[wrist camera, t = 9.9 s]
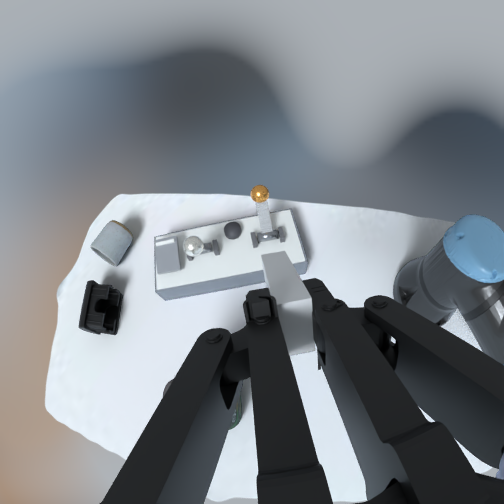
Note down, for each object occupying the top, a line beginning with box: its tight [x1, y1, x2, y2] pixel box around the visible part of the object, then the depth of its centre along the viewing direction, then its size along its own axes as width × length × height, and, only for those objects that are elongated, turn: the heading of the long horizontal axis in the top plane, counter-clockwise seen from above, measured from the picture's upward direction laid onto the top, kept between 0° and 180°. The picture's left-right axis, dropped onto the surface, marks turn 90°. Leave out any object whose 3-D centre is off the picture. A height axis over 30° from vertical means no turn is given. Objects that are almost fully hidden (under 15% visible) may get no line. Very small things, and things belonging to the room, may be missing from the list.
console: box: [154, 209, 308, 301], centre depth 52 cm, size 12×28×7 cm, turn 100°
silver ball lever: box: [183, 236, 213, 257], centre depth 45 cm, size 3×4×10 cm
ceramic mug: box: [91, 220, 133, 266], centre depth 56 cm, size 11×8×8 cm
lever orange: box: [251, 185, 278, 243], centre depth 48 cm, size 3×4×10 cm
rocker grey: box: [154, 236, 182, 275], centre depth 48 cm, size 6×4×1 cm
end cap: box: [79, 280, 123, 335], centre depth 49 cm, size 10×7×7 cm
